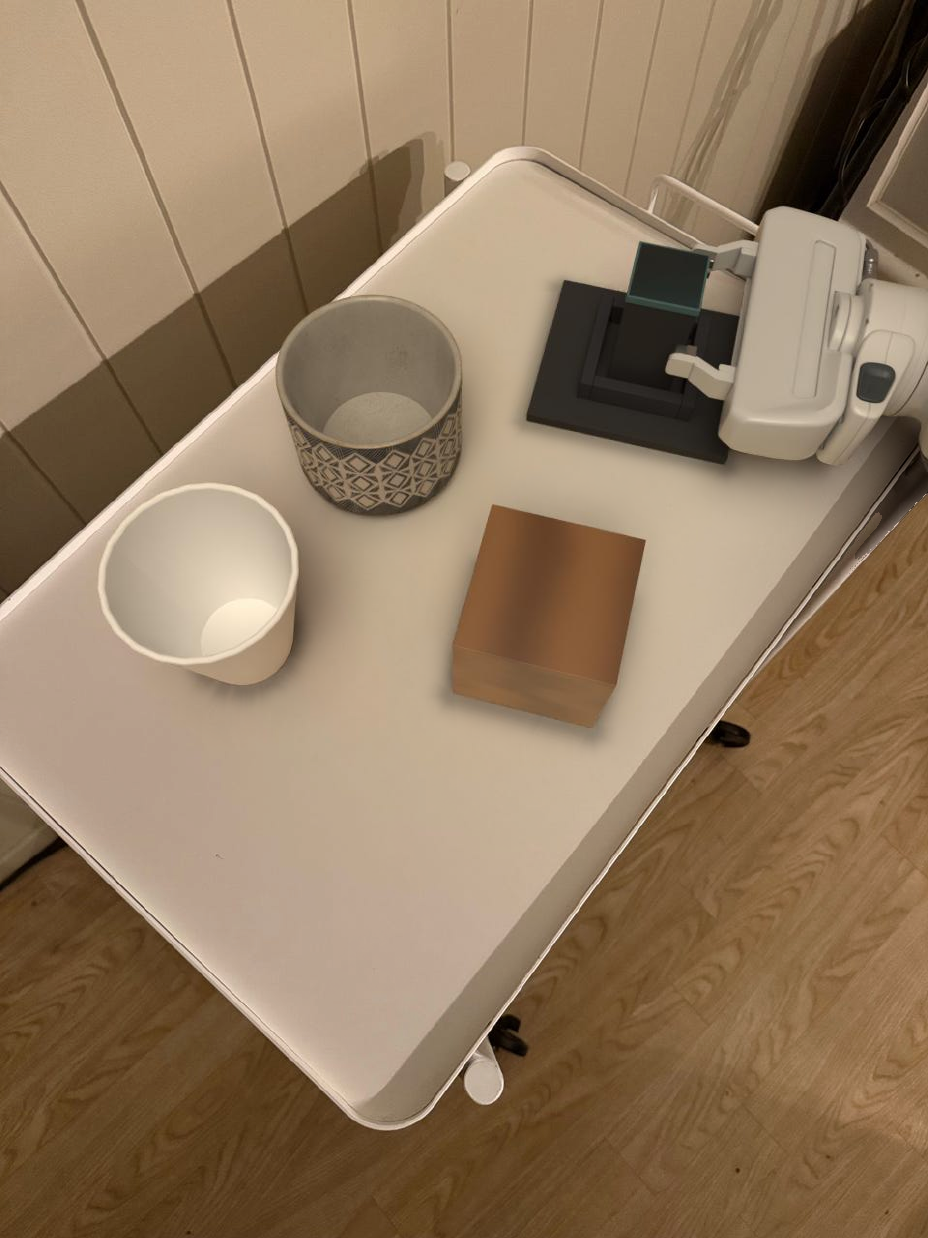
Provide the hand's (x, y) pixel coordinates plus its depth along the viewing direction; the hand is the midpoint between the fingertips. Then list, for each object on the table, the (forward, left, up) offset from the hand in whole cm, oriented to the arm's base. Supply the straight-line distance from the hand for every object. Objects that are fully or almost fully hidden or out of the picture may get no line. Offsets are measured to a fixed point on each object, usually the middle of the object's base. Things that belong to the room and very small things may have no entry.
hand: (679, 306), depth 64 cm
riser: (+21, +15, -8) cm, 27 cm away
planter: (+23, -5, -8) cm, 25 cm away
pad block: (+1, -1, -7) cm, 7 cm away
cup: (+39, +4, -8) cm, 40 cm away
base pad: (+1, -1, -8) cm, 8 cm away
